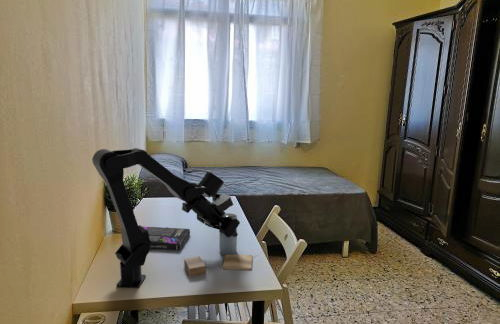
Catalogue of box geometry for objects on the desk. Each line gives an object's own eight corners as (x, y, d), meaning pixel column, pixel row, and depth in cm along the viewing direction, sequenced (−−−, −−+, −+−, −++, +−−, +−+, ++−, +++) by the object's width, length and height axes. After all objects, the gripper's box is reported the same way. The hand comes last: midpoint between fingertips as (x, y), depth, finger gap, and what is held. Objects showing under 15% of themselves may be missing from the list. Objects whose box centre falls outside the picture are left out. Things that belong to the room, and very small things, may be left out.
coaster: (251, 269, 112) (251, 267, 112) (222, 268, 112) (222, 267, 112) (252, 256, 121) (252, 255, 121) (225, 256, 121) (225, 254, 121)
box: (126, 250, 126) (180, 252, 125) (125, 241, 126) (180, 242, 124) (142, 234, 140) (190, 236, 138) (141, 226, 139) (190, 227, 138)
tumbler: (236, 255, 121) (236, 218, 119) (218, 255, 122) (218, 218, 119) (237, 248, 127) (237, 213, 125) (220, 247, 127) (220, 212, 125)
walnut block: (205, 275, 109) (205, 265, 108) (189, 278, 107) (189, 268, 106) (199, 265, 115) (199, 256, 115) (184, 267, 113) (184, 258, 113)
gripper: (235, 194, 110) (261, 221, 119) (203, 182, 125) (229, 207, 134) (213, 224, 107) (242, 249, 116) (184, 208, 122) (211, 232, 130)
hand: (231, 232), depth 124 cm, fingers closed on tumbler, 6 cm apart
